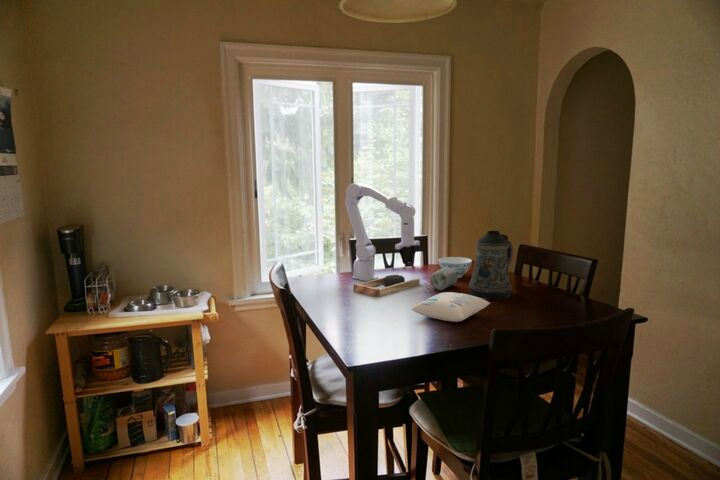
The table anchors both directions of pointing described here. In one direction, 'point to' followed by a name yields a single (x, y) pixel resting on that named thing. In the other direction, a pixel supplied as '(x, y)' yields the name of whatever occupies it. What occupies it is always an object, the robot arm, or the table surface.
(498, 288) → the beer stein
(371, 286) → the guide track
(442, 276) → the streaked ceramic egg
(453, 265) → the chinaware
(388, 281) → the smart speaker
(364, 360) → the table surface
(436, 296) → the pouch
